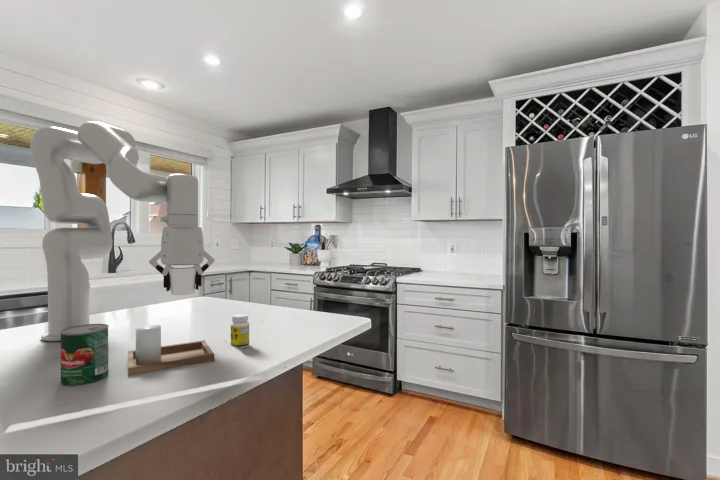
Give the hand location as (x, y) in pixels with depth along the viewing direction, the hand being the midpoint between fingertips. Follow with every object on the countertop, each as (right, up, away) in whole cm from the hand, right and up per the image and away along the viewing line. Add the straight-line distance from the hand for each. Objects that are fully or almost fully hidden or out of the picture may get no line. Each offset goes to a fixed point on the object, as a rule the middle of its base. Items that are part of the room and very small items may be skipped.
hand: (182, 289), depth 98 cm
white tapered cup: (0, -1, 0) cm, 1 cm away
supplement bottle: (+15, -16, +1) cm, 22 cm away
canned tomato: (-9, -16, -23) cm, 29 cm away
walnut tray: (+2, -16, -11) cm, 19 cm away
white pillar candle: (-1, -15, -14) cm, 20 cm away
